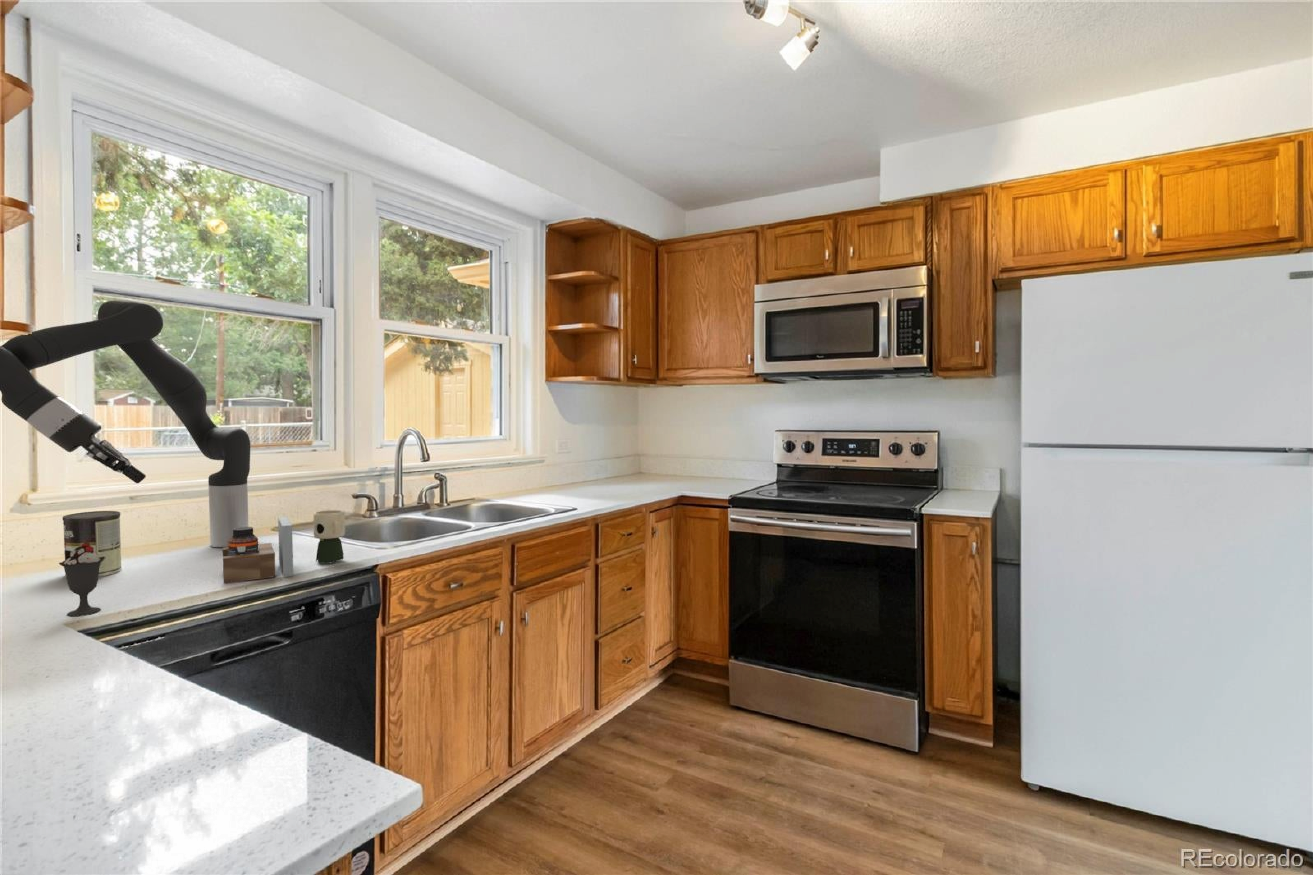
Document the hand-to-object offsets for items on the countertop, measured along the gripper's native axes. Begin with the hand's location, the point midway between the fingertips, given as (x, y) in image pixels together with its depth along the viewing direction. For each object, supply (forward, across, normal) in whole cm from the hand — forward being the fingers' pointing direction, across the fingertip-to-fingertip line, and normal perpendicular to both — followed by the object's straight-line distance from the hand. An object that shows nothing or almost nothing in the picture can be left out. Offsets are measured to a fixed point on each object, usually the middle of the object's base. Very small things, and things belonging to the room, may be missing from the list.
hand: (142, 480), depth 141 cm
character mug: (+43, +3, -9) cm, 44 cm away
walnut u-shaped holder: (+30, 0, +3) cm, 30 cm away
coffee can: (+9, +21, +25) cm, 34 cm away
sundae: (+11, -15, +23) cm, 29 cm away
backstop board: (+36, 0, -2) cm, 36 cm away
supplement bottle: (+30, -1, +4) cm, 30 cm away
